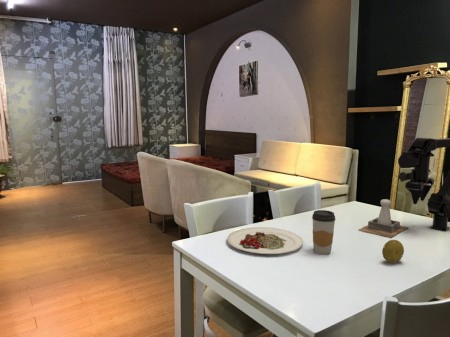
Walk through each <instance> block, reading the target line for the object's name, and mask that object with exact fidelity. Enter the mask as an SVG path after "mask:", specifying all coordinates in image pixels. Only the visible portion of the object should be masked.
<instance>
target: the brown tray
mask: <svg viewBox="0 0 450 337" xmlns="http://www.w3.org/2000/svg"><path fill="white" fill-rule="evenodd" d="M378 218H379V216H378V217H376V218H374V219H370V220H369V221H367V222H368V224H366V225H365V226H363V227H361V228H359V229H358V231H359V232H363V233H367V234H372V235H375V236H379V237H384V238H388V239H392V238H394V237H395V236H398V235H399V234H400V233H402V232H404V231H406V230H407V229H409V227H408V226H405V225H401V222H400V221H398V220H392V219H391V225H390V226H389V225H385V224H380V223H377V221H378Z"/></svg>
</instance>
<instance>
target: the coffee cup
mask: <svg viewBox="0 0 450 337" xmlns="http://www.w3.org/2000/svg"><path fill="white" fill-rule="evenodd" d="M311 219H312V243H313V244H312V245H313V248H312V249H313V251H314V253H316V254H318V255H322V256H323V255H324V256H326V255H330V254H331V252H332V247H333V241H334V232H335V230H334V229H335V221H336V216H335V212H333V211H330V210H327V209H326V210H325V209H318V210H314V211H313V214H312V217H311Z"/></svg>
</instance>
